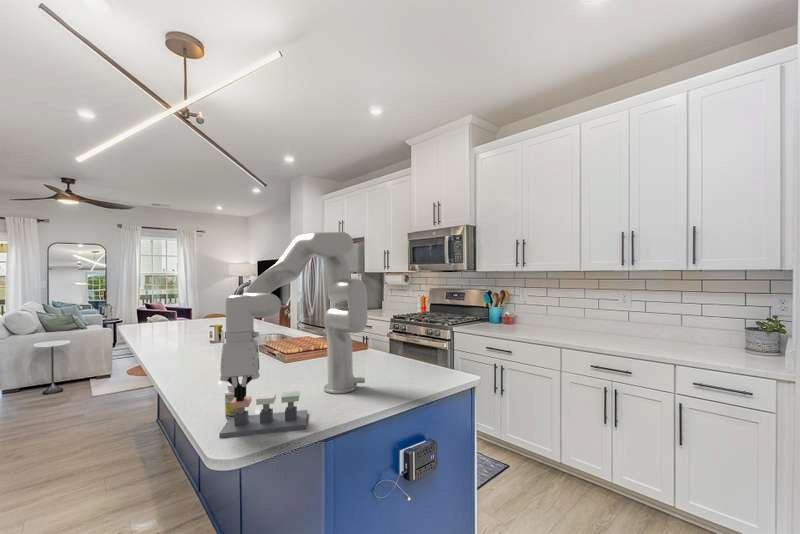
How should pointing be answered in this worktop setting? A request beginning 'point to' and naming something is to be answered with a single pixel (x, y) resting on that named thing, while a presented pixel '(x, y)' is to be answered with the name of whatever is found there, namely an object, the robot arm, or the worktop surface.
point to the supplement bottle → (228, 399)
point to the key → (241, 404)
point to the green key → (290, 398)
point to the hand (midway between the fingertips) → (240, 399)
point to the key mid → (266, 400)
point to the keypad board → (264, 422)
